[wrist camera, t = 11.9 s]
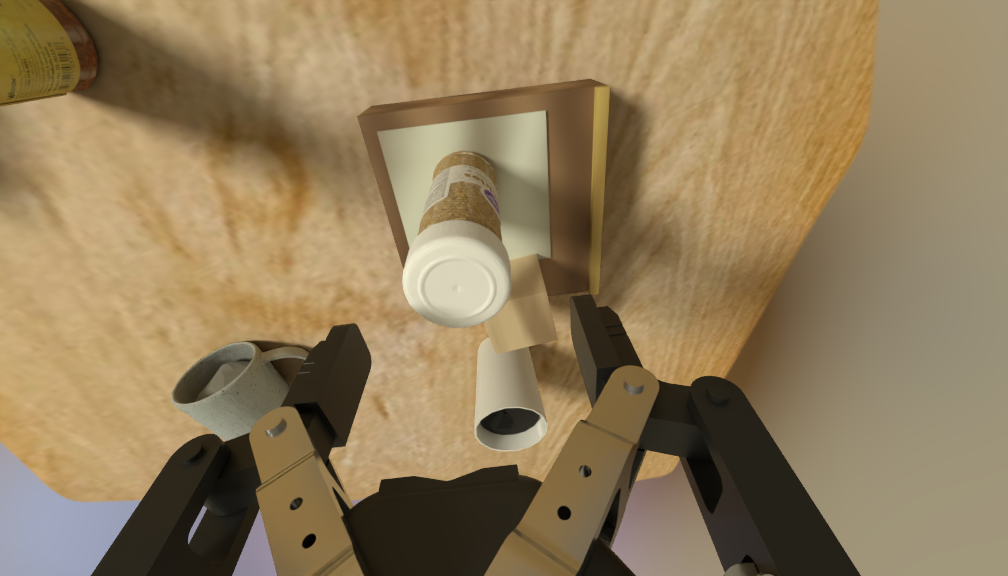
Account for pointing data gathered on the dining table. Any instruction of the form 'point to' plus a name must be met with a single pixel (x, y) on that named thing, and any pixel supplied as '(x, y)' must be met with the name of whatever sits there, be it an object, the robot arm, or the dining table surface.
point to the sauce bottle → (42, 51)
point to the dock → (506, 168)
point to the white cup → (507, 400)
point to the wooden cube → (523, 310)
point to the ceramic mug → (233, 387)
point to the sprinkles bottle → (459, 247)
